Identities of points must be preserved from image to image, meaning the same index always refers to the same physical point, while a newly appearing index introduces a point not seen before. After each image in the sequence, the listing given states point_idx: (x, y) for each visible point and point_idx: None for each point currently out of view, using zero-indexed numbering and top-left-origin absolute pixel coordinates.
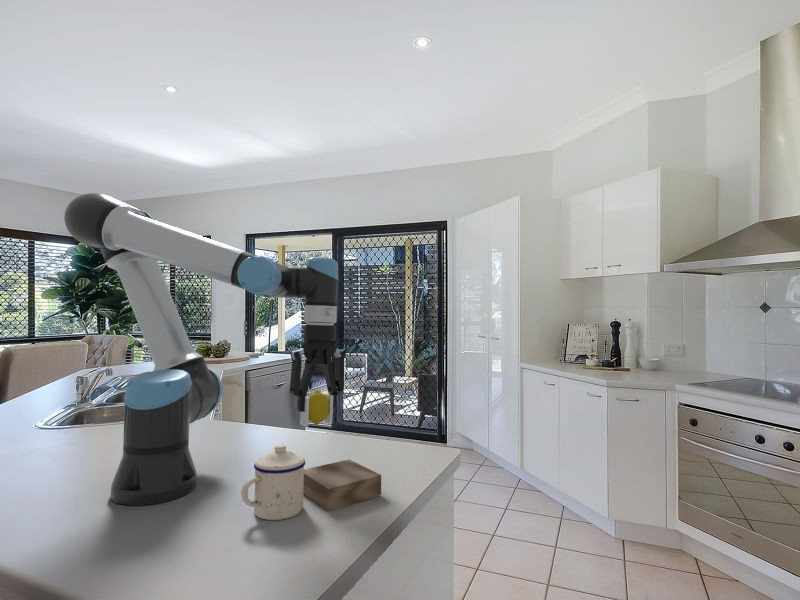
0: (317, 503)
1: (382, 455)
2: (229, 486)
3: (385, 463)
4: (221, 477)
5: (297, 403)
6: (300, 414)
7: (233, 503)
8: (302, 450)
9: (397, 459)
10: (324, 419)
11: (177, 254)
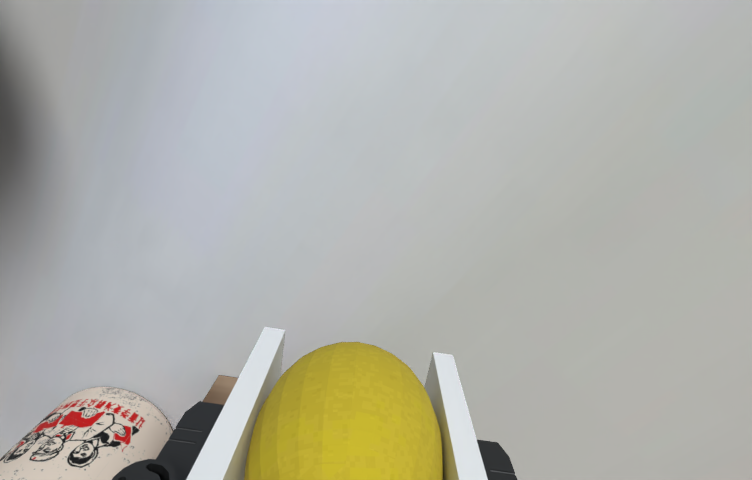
0: None
1: (658, 328)
2: (53, 199)
3: (583, 392)
4: (50, 91)
5: (165, 445)
6: (243, 369)
7: (30, 325)
8: (493, 13)
9: (648, 393)
10: (432, 367)
11: None
